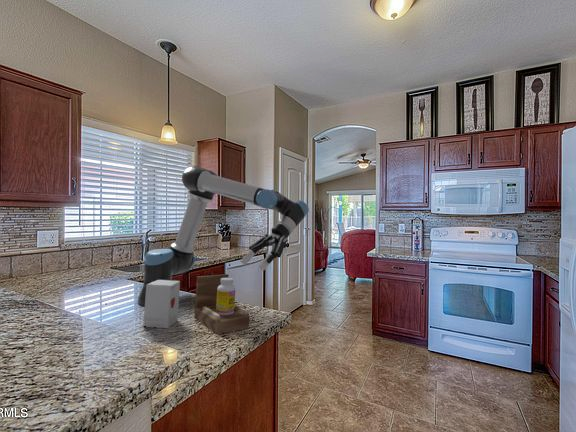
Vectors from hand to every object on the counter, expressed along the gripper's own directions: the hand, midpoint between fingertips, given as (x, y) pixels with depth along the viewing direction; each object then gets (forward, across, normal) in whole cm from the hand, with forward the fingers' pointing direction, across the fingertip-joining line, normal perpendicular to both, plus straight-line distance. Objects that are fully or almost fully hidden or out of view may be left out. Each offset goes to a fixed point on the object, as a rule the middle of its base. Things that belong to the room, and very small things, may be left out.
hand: (251, 265), depth 115 cm
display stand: (+22, +2, -8) cm, 24 cm away
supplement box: (+36, +12, +6) cm, 38 cm away
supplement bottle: (+20, 0, -5) cm, 20 cm away
